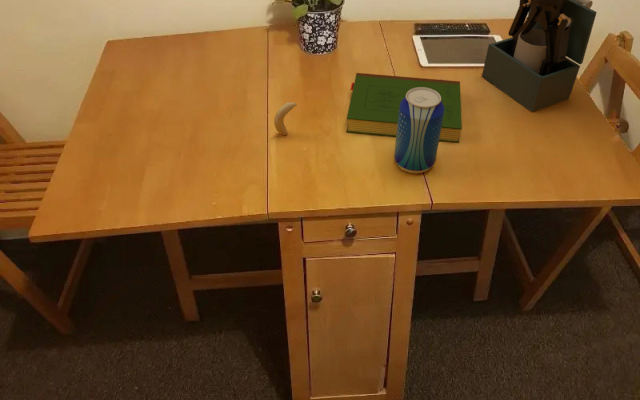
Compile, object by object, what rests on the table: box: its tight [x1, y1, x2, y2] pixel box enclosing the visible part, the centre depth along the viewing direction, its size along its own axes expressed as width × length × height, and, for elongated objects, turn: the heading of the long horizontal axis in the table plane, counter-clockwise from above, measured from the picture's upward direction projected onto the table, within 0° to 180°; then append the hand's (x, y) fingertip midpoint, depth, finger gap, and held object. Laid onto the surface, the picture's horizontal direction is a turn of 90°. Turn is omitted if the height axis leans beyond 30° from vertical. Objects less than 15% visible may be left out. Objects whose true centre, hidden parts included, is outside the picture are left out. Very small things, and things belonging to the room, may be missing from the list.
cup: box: [513, 29, 553, 74], centre depth 135 cm, size 8×8×10 cm
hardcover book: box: [346, 72, 463, 144], centre depth 131 cm, size 25×19×4 cm
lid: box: [527, 0, 598, 65], centre depth 132 cm, size 12×18×6 cm
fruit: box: [273, 101, 298, 136], centre depth 123 cm, size 4×8×2 cm
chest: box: [481, 36, 581, 113], centre depth 137 cm, size 12×18×9 cm, turn 28°
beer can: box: [393, 87, 444, 175], centre depth 114 cm, size 8×8×16 cm
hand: (527, 75), depth 138 cm, fingers closed on cup, 8 cm apart
